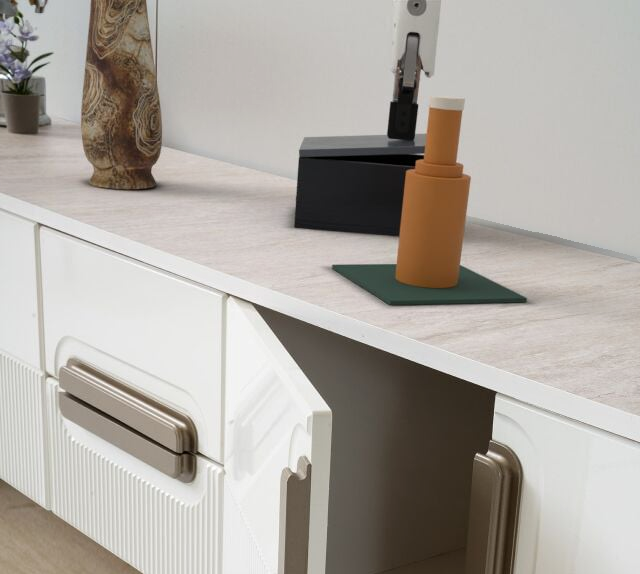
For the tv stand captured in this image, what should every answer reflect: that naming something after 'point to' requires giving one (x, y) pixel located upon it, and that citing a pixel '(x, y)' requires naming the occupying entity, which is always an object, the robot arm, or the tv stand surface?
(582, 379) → the tv stand surface
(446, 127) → the bottle
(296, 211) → the black rectangular box
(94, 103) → the vase
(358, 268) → the mat
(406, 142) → the lid
